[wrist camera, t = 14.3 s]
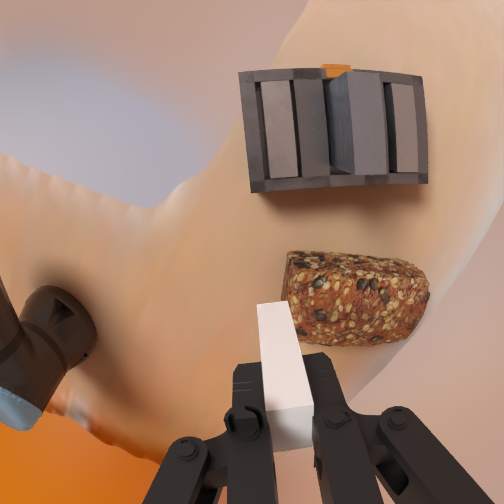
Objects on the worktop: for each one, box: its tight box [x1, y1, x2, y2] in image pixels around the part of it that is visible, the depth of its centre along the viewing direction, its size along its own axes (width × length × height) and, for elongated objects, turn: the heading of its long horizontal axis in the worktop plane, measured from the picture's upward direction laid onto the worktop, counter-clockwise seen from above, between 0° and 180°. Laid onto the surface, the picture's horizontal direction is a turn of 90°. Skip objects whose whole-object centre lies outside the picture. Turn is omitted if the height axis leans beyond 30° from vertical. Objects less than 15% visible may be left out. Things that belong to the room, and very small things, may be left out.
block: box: [323, 71, 386, 175], centre depth 27 cm, size 9×3×10 cm, turn 6°
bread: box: [281, 251, 430, 347], centre depth 38 cm, size 19×11×10 cm, turn 84°
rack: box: [238, 64, 428, 193], centre depth 31 cm, size 21×14×7 cm, turn 96°
